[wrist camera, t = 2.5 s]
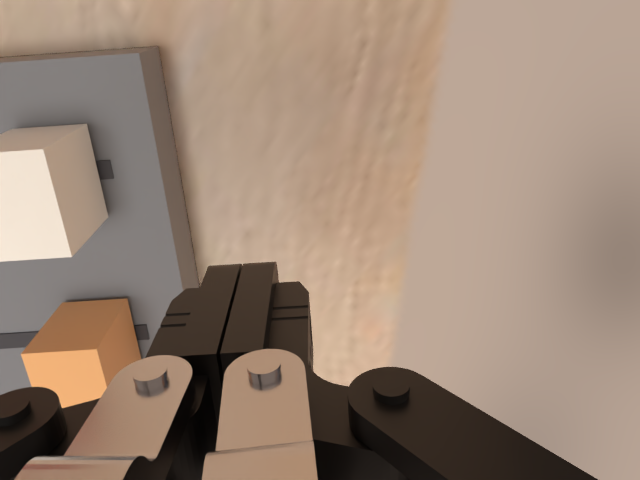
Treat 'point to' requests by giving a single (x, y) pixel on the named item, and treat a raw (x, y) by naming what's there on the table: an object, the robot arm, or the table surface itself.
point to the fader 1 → (48, 192)
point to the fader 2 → (82, 349)
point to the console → (118, 190)
